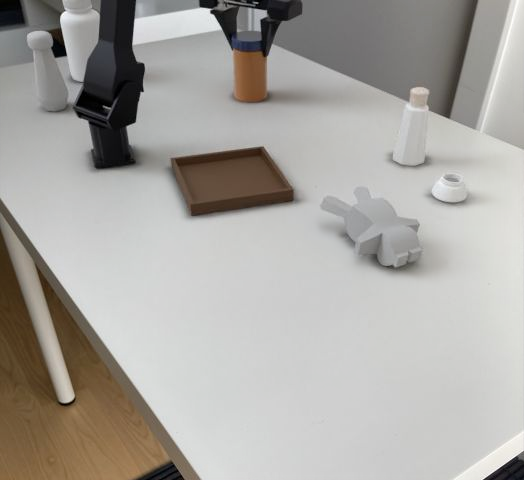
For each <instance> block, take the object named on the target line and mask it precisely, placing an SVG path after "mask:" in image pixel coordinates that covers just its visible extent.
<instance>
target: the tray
mask: <svg viewBox="0 0 524 480" xmlns="http://www.w3.org/2000/svg"><path fill="white" fill-rule="evenodd" d="M170 165H171V170H172V173H173V175H174V177H175V180H176V183H177V185H178V187H179V189H180V192H181V195H182V196H183V199H184V202H185V204H186V206H187V209H188V211H189V213H190V215H191V216H197V215H198V216H199V215H205V214H212V213H219V212H225V211H230V210H238V209H245V208H251V207H258V206H264V205H271V204H278V203H279V204H280V203H285V202H291V201H294V191H295V190H294V188H293V186H292V185H291V183H290V182H289V180H288V179H287V178H286V176H285V174H283V172H282V170H281V169H280V168H279V166H278V165H277V163H276V162H275V161H274V159H273V158H272V156H271V155H270V154H269V152H268V151H267V149H266V148H265V146H264V145H262V146H253V147H244V148H237V149H231V150H223V151H215V152H207V153H200V154H199V153H198V154H192V155H182V156H176V157H170Z"/></svg>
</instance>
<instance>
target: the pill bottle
mask: <svg viewBox="0 0 524 480" xmlns="http://www.w3.org/2000/svg"><path fill="white" fill-rule="evenodd" d="M61 1H62V5H63V8H64V10H65V11H64V12H62V13H61V15H60V19H59V22H60V23H59V24H60V27H61V32H62V33H61V34H62V38H63V41H64V46H65V51H66V58H67V61H68V67H69V71H70V74H71V78H72V79H73V80H74V81H76V82H79V83H80V82H81V83H83V82H84V75H85V70H86V65H87V60H88V58H89V56H90V54H91V53H92V51H93V50H94V48H95V46H96V45H97V43H98V38H99V21H100V12H98V11H97V10H95V9H93V4H92V0H61Z"/></svg>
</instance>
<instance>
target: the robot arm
mask: <svg viewBox="0 0 524 480" xmlns="http://www.w3.org/2000/svg"><path fill="white" fill-rule="evenodd" d="M136 7H137V0H100V7H99V15H100V21H99V38H98V43H97V45H96V46H95V48H94V50H93V51H92V53H91V54H90V56H89V58H88V60H87V65H86V70H85V75H84V82H82V85H81V87H80V90H79V92H78V94H77V96H76V99H75V100H74V102H73V104H72V110H73V111H74V113H75V115H76V117H77V119H80V120H81V119H82V120H84V121H87V123H88V128H89V134H90V137H91V139H90V140H91V143H92V148H91V149H90V152H91V156H92V161H93V167H94V168H95V169H102V168H109V167H116V166H117V167H118V166H124V165H131V164H136V157H135V154H134V150H133V148H132V145H131V144H130V141H129V133H128V127H129V126H131V125H133V124H136V123H137V118H138V109H139V102H140V98H141V93H144V92H145V89H144V77H145V73H146V65H145V63H144V62H141V61H137V58H136V55H135V53H134V48H133V43H134V31H135V20H136ZM198 7H199V8H201V9H207V10H209V14H210V15H213V16H214V18H215V20H216V21H217V23H218V25H219V27H220V28H221V30H222V32H223V34H224V36H225V38H226V40H227V43H228V45H229V47H230V49H231V51H232V52H233V47H232V45H231V39H232V35H233V34H234V33H236V32H238V22H237V18H238V13H239V11H240V7H241V8H248V9H254V10H260V11H264V12H265V11H266V16H264V17H263V18H259V24H260V32H261V39H262V51H263V56H264V57H267V58H268V57H269V55H270V52H271V48H272V46H273V43H274V40H275V37H276V34H277V32H278V29H279V28H280V25H281V24H282V22H288V21H290V20H291V21H292V20H293V19H295V18H297V17H299V16H301V15H303V2H302V0H198Z"/></svg>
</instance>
